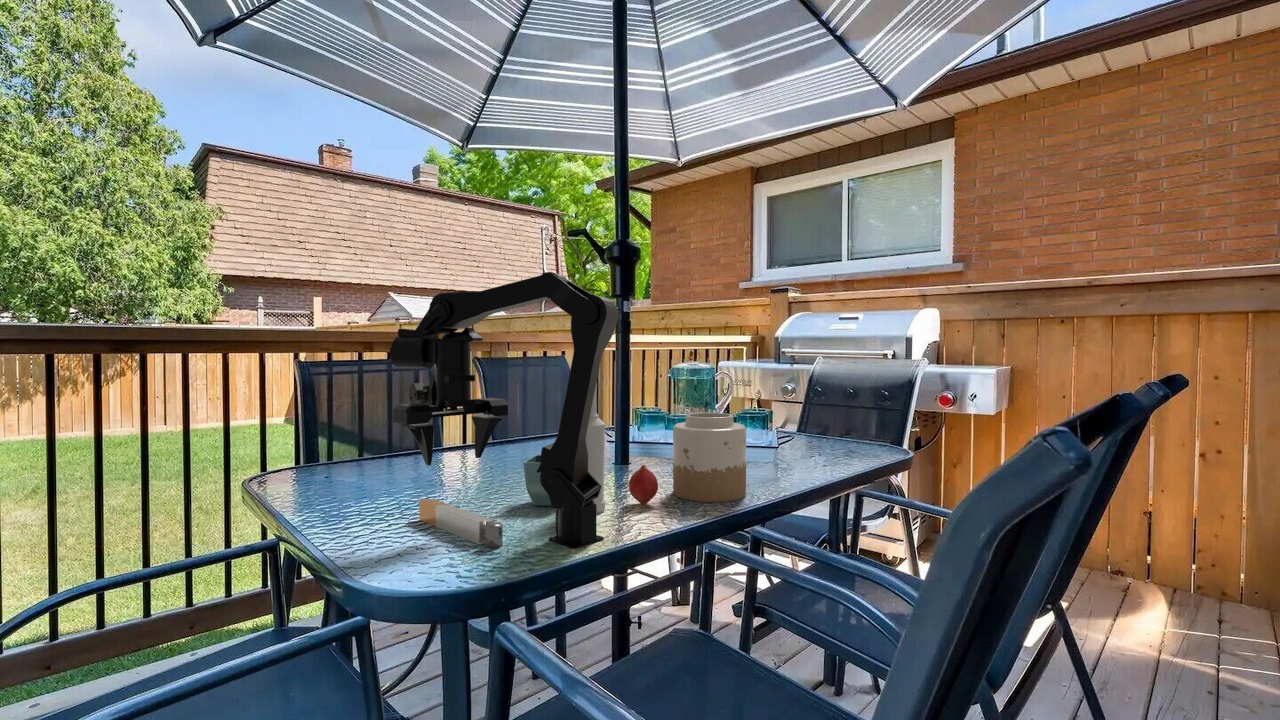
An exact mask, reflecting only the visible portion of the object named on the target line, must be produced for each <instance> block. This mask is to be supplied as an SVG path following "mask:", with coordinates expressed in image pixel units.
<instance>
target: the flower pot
mask: <svg viewBox="0 0 1280 720" xmlns="http://www.w3.org/2000/svg"><path fill="white" fill-rule="evenodd" d="M540 463H541V454H534V455H533V456H531V457H530V458H528V459H526V460H525V461H524V462H523V471H524V481H525V488H526V491H527V493H528V496H529V497H530V500H531V502H532V503H533V505H535V506H539V507H540V506H543V507H544V506H546V507H548V506H549V507H552V504H551V501H550V499H549V496H548V493H547V492H546V491H545V490H544V488H543V487H542V486H541V484H540V473H541V472H539V473H537V470H538V468H539V466H540Z"/></svg>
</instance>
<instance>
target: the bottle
mask: <svg viewBox="0 0 1280 720" xmlns="http://www.w3.org/2000/svg"><path fill="white" fill-rule="evenodd" d="M597 388H598V383H597V382H596V387H595V392H594V397H593V403H592V408H591V413H590V418H589V423H588V428H587V433H586V446H587V451H588V472H589V473H590V474H591V475H592V476H593V477H594V478H595V479H596V481H597V482H598V483H599V484H600V485H601V490H600V493H599V496H598V497H597V498H595V499H594V500H592V501H594V504H596V515H597V514H602V513H604V512H605V509H606V500H605V452H606V451H605V448H606V447H605V446H606V444H605V439H606V424H605V422H604V421H603V420H602V419H601V418H599V414H598V413H597V390H598V389H597Z"/></svg>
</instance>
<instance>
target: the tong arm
mask: <svg viewBox="0 0 1280 720" xmlns="http://www.w3.org/2000/svg"><path fill="white" fill-rule="evenodd" d="M418 502H419V503H418V504H419V505H418V506H419V507H418V510H419V512H418V514H419V515H418V517H419V521H421V522H423V523H426V524H428V525H431V526H433V527H436V528H437V529H441V530H443V531H445V532H448V533H450V534H452V535H455V536H458V537H459V538H462V539H465V540H467V541H469V542H471V543H475V544H477V545H479V546H481V545H484V544H485V545H486V538H485V525H486V520H484V519H481V518H478V517H475V516H472V515H470V514H467V513H464V512H461V511H459V510H456V509H453V508H450V507H447V506H445V505H442V504H439V503H436V502H434V501H431V500H430V499H427V498H422V499H421V498H420V499H419V501H418Z"/></svg>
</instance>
